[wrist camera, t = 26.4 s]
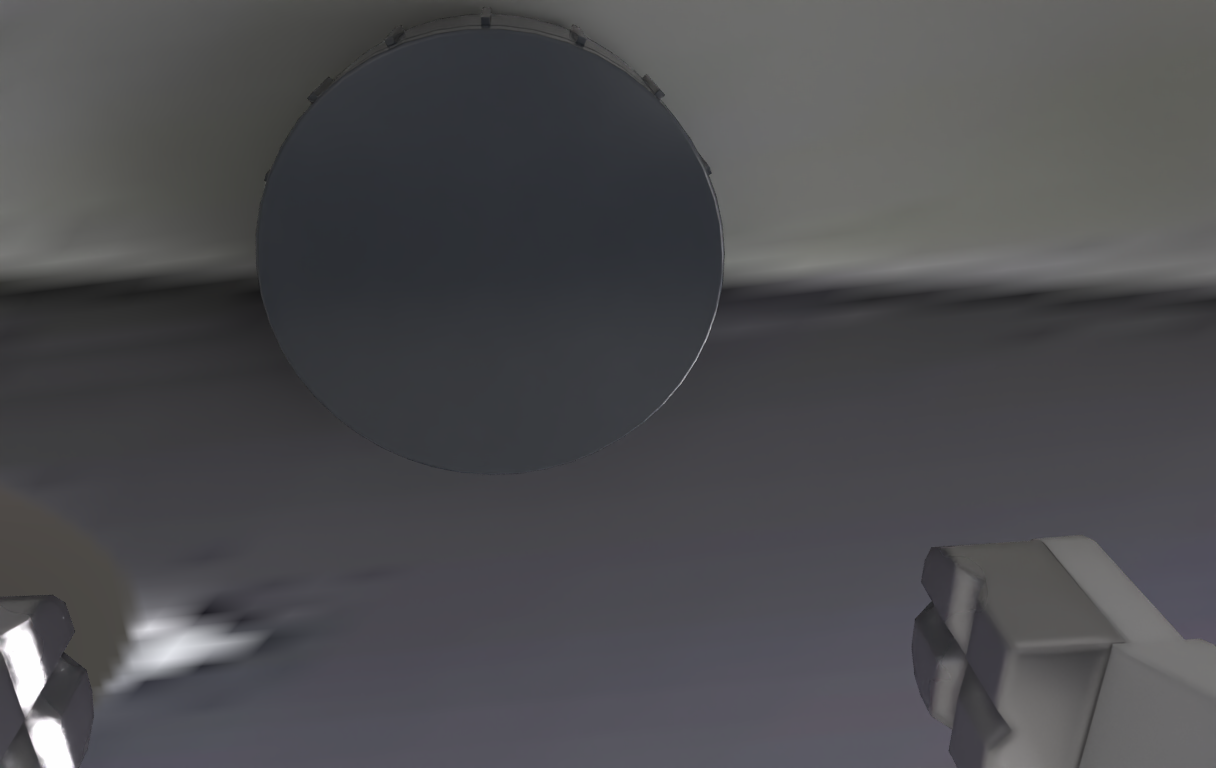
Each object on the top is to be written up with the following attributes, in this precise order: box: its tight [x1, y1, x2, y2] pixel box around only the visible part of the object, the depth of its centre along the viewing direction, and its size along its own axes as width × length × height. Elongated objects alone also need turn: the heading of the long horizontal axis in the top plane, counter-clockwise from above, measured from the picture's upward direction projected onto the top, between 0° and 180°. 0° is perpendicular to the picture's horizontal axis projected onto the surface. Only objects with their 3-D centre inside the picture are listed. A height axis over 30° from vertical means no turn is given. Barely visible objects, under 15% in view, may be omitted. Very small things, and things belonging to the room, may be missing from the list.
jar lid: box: [256, 7, 725, 475], centre depth 14 cm, size 6×6×2 cm
